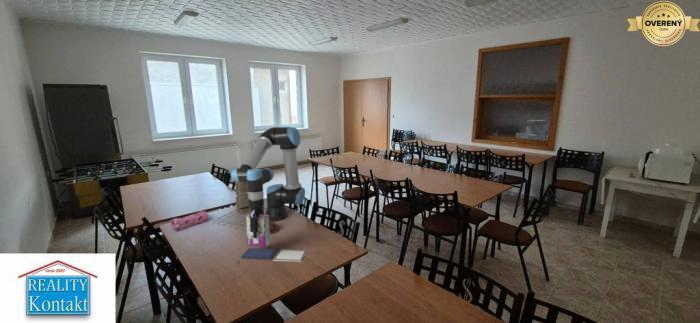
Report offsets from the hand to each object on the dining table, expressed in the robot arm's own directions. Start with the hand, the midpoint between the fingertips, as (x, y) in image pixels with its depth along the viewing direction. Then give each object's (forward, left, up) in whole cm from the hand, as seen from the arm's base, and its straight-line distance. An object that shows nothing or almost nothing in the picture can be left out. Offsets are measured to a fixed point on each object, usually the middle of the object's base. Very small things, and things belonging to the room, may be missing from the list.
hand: (258, 240), depth 155 cm
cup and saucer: (-30, -5, -9) cm, 31 cm away
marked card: (0, +17, -8) cm, 19 cm away
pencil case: (-34, -60, -9) cm, 70 cm away
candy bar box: (0, 0, -3) cm, 3 cm away
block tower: (-61, -36, -8) cm, 71 cm away
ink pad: (0, 0, -8) cm, 8 cm away
